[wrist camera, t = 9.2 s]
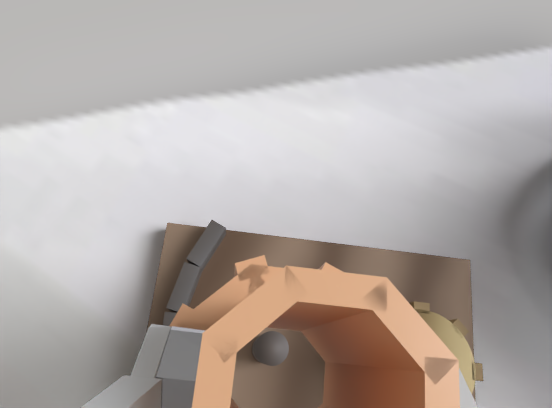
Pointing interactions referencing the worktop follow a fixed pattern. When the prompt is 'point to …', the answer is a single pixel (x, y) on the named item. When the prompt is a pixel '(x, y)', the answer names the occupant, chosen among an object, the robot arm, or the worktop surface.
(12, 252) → the worktop surface
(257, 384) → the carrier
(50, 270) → the worktop surface
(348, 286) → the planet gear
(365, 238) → the worktop surface
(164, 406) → the robot arm
